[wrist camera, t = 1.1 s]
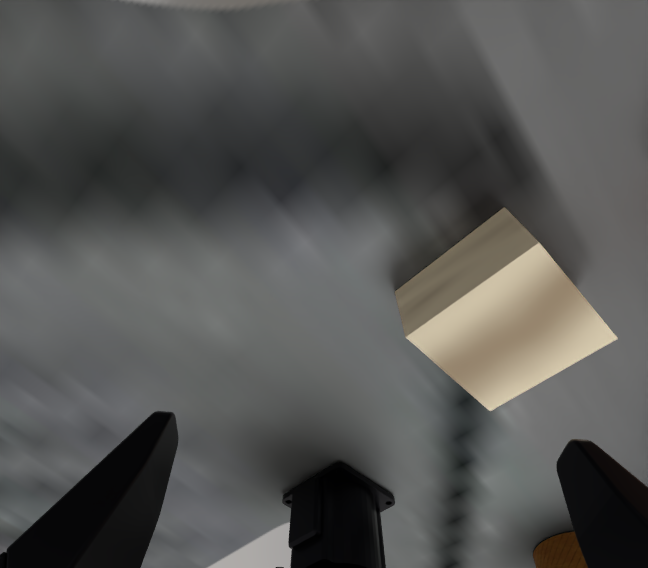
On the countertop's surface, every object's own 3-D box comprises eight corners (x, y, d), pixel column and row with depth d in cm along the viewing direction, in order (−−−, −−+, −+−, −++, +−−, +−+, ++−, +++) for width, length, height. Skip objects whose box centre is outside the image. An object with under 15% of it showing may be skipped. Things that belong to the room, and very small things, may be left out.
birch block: (575, 292, 23) (617, 338, 20) (468, 360, 26) (489, 411, 22) (504, 206, 20) (539, 242, 17) (394, 291, 23) (405, 337, 20)
